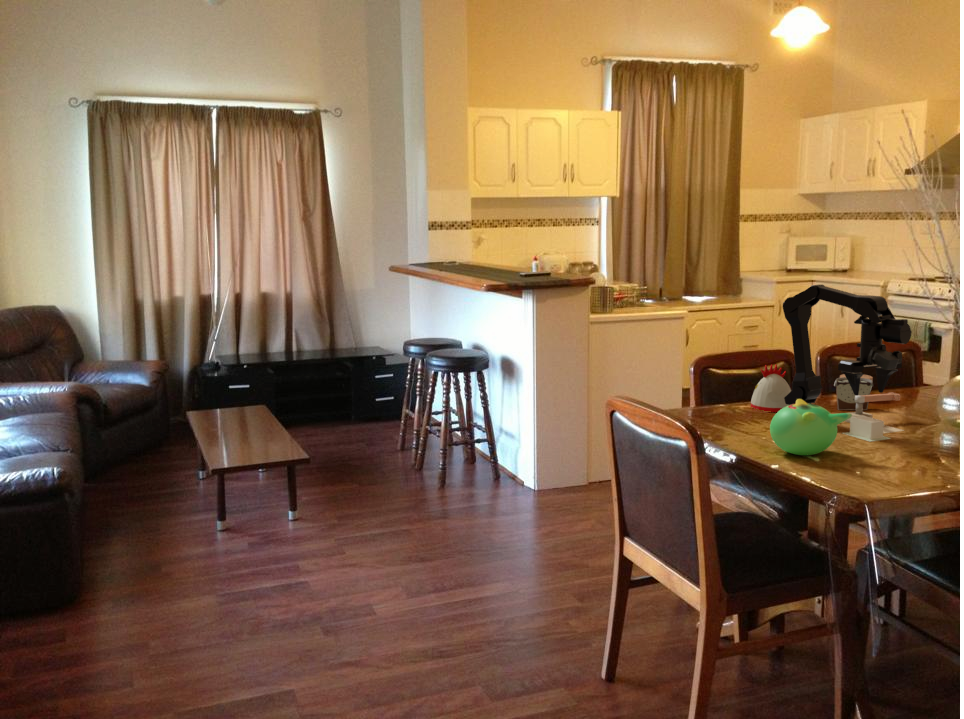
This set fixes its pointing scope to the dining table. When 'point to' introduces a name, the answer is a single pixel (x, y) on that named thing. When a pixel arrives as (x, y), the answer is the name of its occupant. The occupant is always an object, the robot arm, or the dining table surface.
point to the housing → (860, 413)
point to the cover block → (866, 427)
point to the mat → (866, 438)
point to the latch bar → (877, 397)
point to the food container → (851, 393)
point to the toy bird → (805, 428)
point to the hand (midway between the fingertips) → (868, 393)
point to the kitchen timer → (770, 391)
